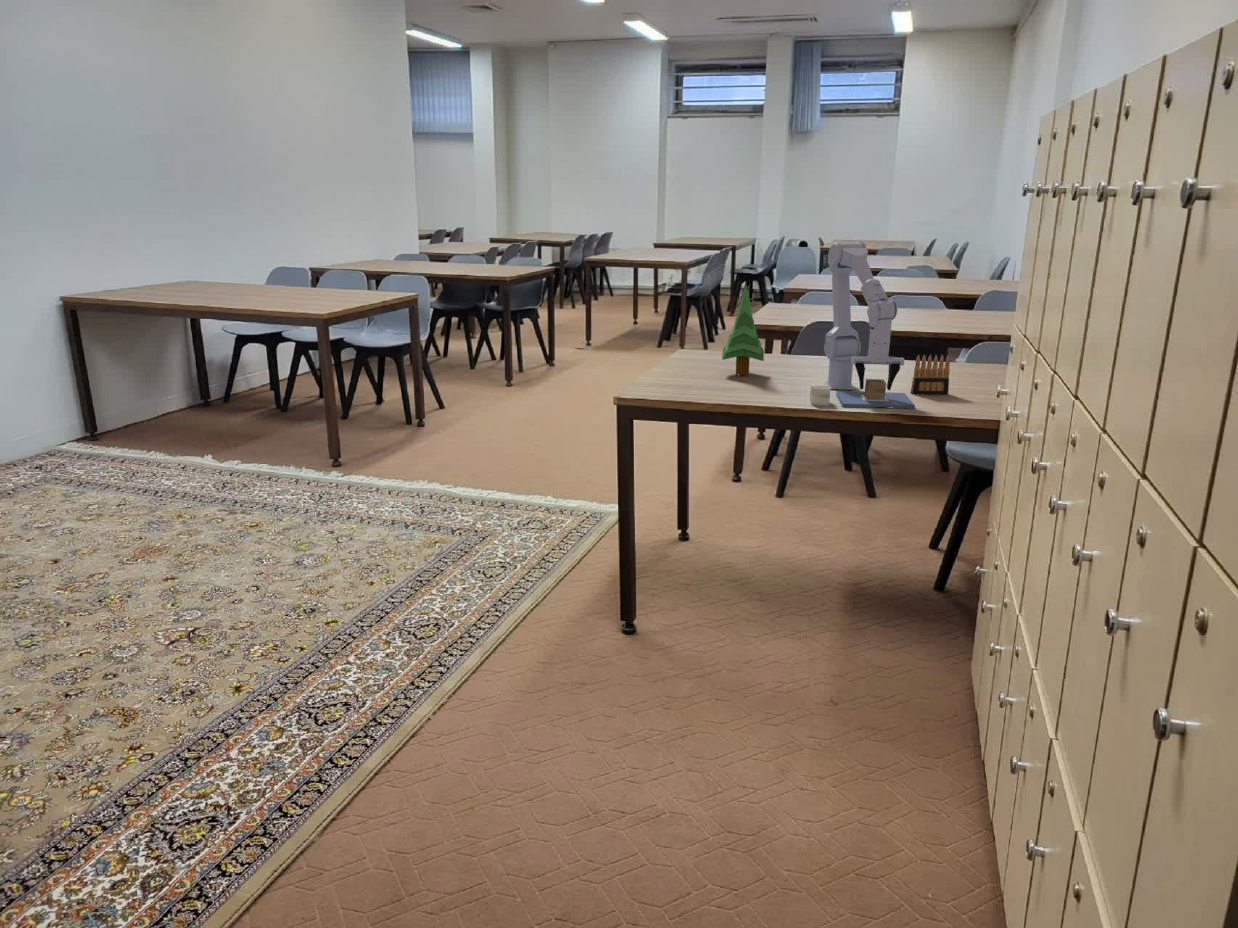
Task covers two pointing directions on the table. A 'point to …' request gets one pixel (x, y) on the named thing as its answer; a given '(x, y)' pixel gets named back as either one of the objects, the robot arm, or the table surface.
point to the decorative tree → (743, 338)
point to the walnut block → (875, 389)
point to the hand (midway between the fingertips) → (875, 389)
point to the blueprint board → (860, 400)
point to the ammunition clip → (931, 377)
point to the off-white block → (820, 395)
